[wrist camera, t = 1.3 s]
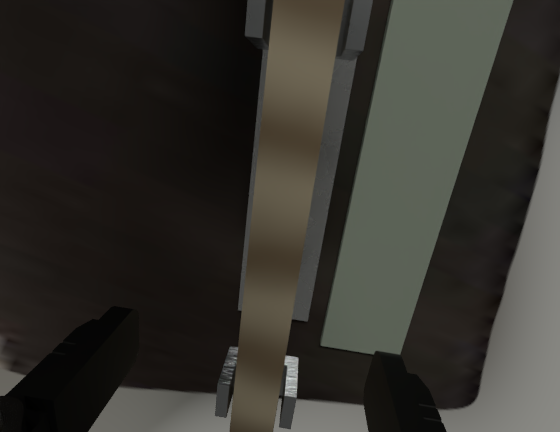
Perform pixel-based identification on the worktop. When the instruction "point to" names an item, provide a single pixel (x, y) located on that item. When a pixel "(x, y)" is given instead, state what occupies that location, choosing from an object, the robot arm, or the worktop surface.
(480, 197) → the worktop surface
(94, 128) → the worktop surface
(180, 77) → the worktop surface
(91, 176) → the worktop surface
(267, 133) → the rail
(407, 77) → the mat
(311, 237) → the hook stand
